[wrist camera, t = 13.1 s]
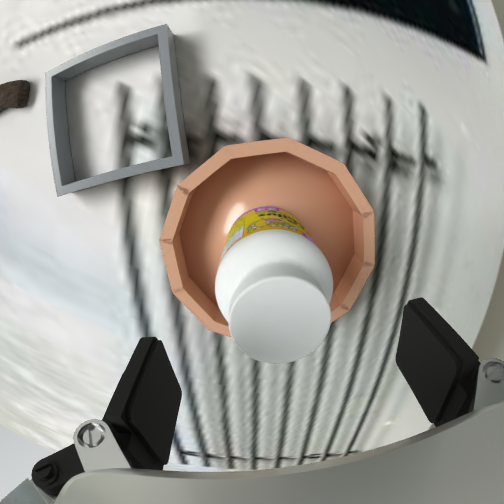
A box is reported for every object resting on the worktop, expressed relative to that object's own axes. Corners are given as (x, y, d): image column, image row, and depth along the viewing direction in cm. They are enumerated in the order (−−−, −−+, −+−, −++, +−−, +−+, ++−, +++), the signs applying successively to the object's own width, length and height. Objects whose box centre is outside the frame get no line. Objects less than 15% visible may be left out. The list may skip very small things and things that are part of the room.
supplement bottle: (320, 232, 25) (381, 304, 12) (275, 291, 26) (294, 395, 14) (255, 187, 23) (262, 223, 11) (212, 252, 25) (180, 341, 13)
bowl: (157, 160, 23) (144, 162, 20) (352, 135, 23) (367, 132, 19) (195, 330, 29) (189, 351, 25) (359, 308, 28) (371, 326, 25)
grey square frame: (59, 77, 20) (45, 72, 18) (173, 34, 19) (166, 23, 17) (71, 192, 24) (57, 196, 22) (190, 163, 24) (183, 164, 21)
